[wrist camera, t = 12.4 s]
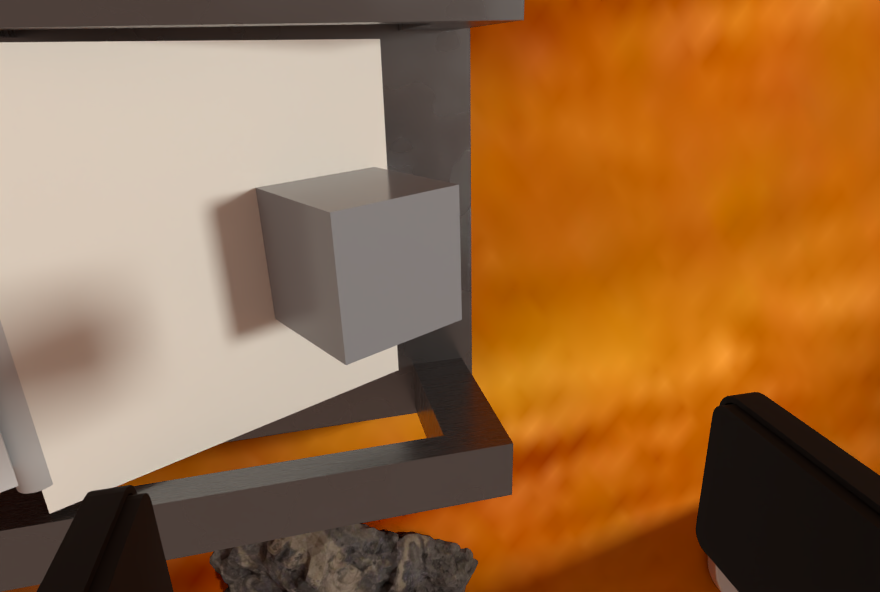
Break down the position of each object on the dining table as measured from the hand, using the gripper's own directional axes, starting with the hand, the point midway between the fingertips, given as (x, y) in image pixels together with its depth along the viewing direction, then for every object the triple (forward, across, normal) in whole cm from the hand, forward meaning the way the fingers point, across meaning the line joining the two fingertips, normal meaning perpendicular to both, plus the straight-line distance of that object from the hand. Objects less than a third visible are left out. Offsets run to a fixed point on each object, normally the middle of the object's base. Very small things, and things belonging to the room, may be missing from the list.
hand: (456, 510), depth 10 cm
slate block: (+15, +2, -1) cm, 15 cm away
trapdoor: (+14, +8, -1) cm, 16 cm away
